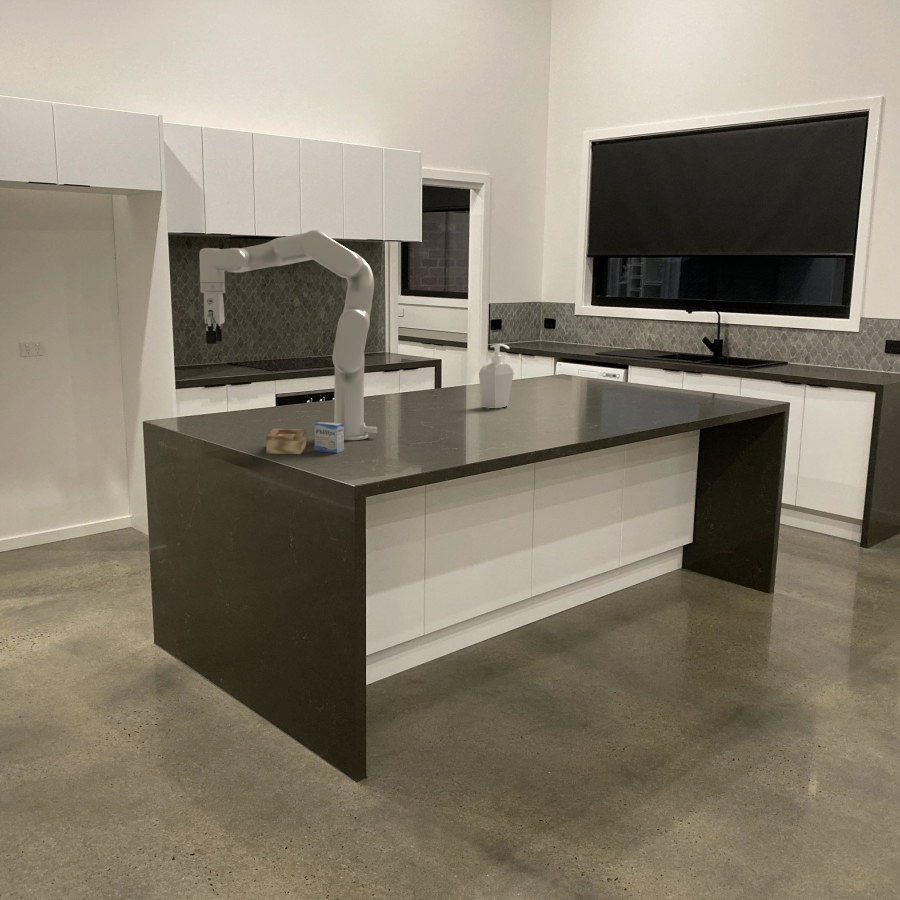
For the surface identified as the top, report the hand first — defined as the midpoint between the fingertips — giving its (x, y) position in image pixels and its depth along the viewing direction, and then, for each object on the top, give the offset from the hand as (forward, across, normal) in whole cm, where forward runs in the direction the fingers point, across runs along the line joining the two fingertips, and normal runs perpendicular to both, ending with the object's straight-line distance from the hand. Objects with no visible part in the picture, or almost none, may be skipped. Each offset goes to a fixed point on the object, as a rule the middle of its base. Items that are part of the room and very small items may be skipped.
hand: (214, 342), depth 290 cm
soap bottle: (+31, +67, -101) cm, 125 cm away
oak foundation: (+30, -22, -25) cm, 45 cm away
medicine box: (+31, -24, -38) cm, 54 cm away
